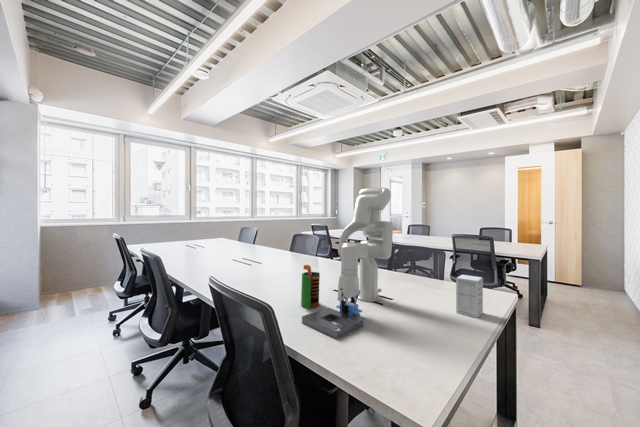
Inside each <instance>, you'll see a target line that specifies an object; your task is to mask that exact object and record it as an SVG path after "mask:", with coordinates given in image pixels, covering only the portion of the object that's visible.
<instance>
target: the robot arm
mask: <svg viewBox="0 0 640 427" xmlns="http://www.w3.org/2000/svg"><path fill="white" fill-rule="evenodd" d="M391 195H392V194H391V191H390V189H389V188H387V187H366V188H362V189H360V190H359V192H358V196H357V197H356V199H355V205H354V209H353V214H352V221H351V222H350V223H349V224H347V226H345V228H344V229H343V230H342V232H341V234H340V236H339V241H338V246H337V253H338V255H339V257H340V262H341V263H340V266H341V267H340V275H339V278H338V285H337V298H336V300H337V301H339V304H340V303H341V304H342V313H345V314H348V305H347V302H348V301H349V299H350V301H349V302H352V303H355V304H357V301H358V300H360V301H363V302H367V303H368V302H372V303H373V302H378V301H380V300H381V295H380V294H379V293H381V292H382V291H383V290H382V289H381V288H379V287H378V280H379V278H378V276H379V266H378V263H377V261H376V260H375V259H377V260H378V259H380V260H388V259H390V258H391V257H392V249H393V248H392V247H393V236H394V234H393V233H394V232H393V231H394V230H393V224H392V223H391V222H390V221H388V220H380V219H381V218H380V217H381V215H380V214H381V211H383V210H384V209H385V208H386V207H387V205H388V204H390V201H391ZM360 230H362V234H363V236H364V237H366V238H370V239H364V240H361V241H360V242H354V241H348V240H349V238H350V236H352V235H353V234H355V233H356V232H358V231H360ZM371 239H372V240H371ZM373 239H375V240H373ZM376 239H382V240H376ZM358 262H359V263H358ZM358 268H359V269H358ZM358 271H359V273H358Z"/></svg>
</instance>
